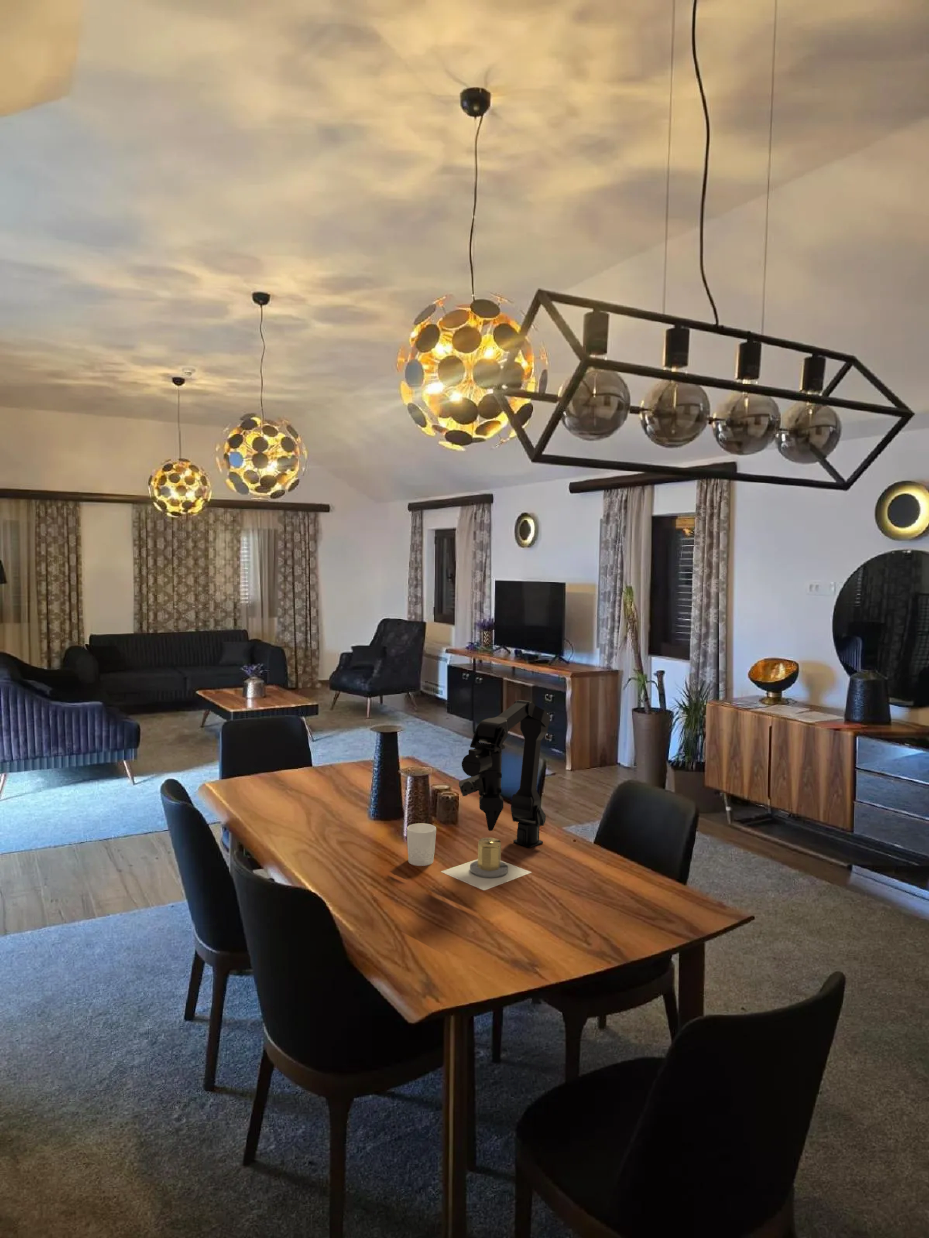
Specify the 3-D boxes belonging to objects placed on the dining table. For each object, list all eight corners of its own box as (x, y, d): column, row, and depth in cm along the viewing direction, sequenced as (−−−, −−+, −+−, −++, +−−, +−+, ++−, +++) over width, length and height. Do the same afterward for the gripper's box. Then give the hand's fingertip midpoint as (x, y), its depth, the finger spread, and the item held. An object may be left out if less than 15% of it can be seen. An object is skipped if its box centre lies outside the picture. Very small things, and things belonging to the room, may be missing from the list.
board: (488, 858, 218) (488, 855, 218) (531, 875, 206) (531, 872, 206) (440, 874, 205) (440, 871, 205) (483, 893, 194) (484, 890, 194)
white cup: (417, 856, 218) (417, 821, 217) (440, 862, 214) (441, 826, 213) (400, 865, 211) (401, 828, 211) (424, 871, 207) (425, 834, 207)
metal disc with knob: (488, 861, 214) (489, 838, 213) (515, 871, 206) (516, 848, 206) (462, 870, 207) (462, 847, 206) (489, 881, 200) (490, 857, 199)
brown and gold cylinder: (475, 868, 205) (475, 843, 204) (481, 861, 210) (482, 836, 210) (496, 871, 203) (497, 846, 202) (502, 864, 208) (503, 839, 208)
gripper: (460, 758, 219) (460, 813, 220) (460, 777, 201) (459, 836, 202) (500, 759, 219) (499, 813, 220) (504, 777, 201) (502, 837, 202)
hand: (489, 824), depth 211 cm, fingers open, 9 cm apart
